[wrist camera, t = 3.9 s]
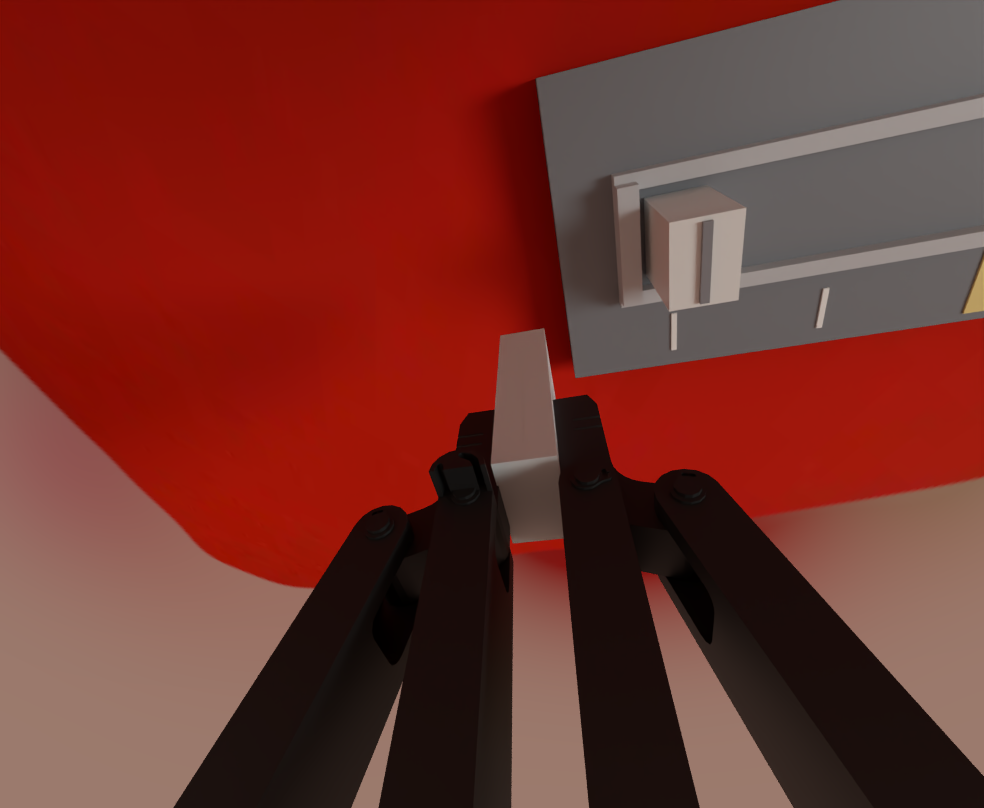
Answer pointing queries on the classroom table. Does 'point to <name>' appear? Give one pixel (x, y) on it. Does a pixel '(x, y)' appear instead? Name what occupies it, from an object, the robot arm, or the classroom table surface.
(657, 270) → the fader tab
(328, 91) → the classroom table surface
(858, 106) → the panel
